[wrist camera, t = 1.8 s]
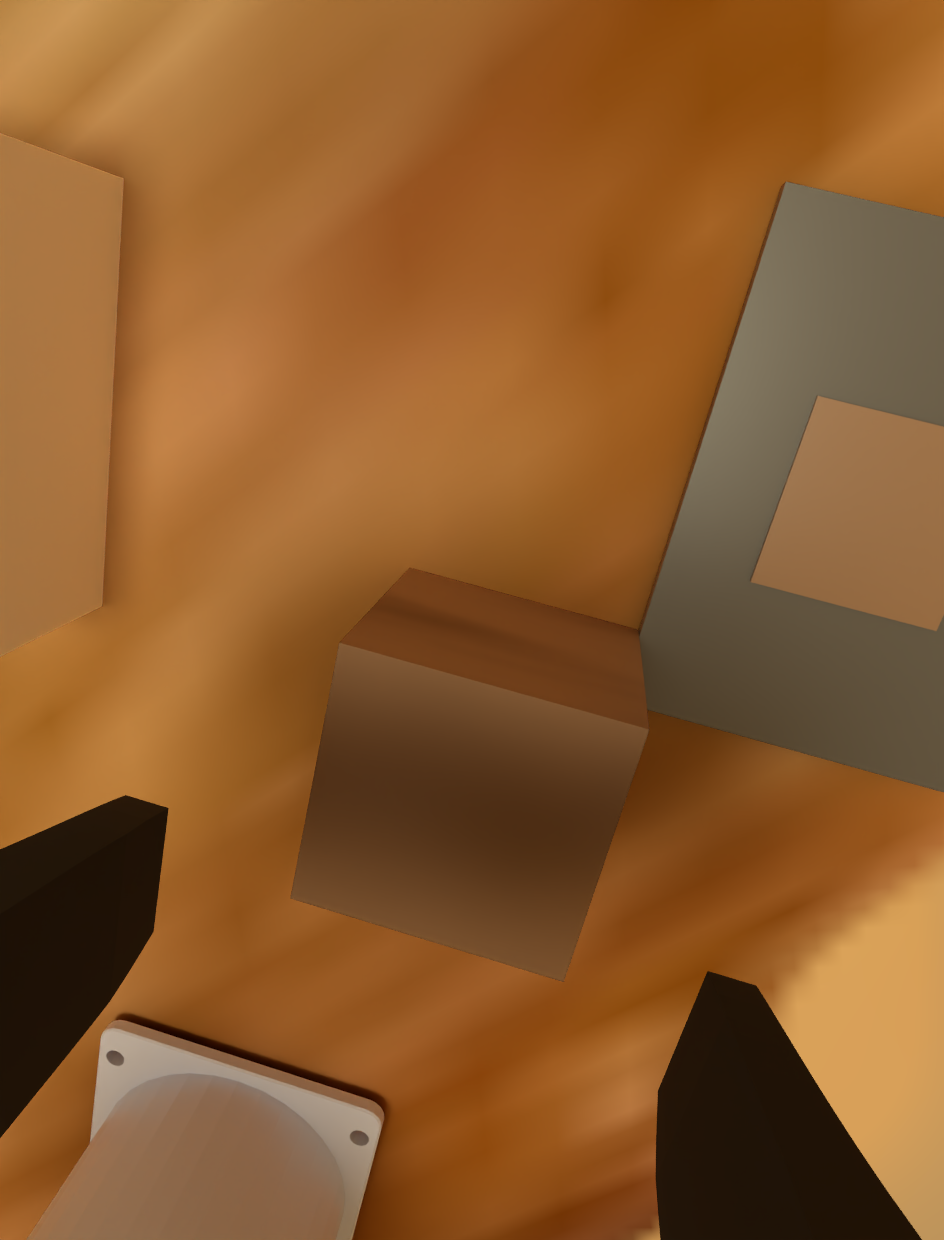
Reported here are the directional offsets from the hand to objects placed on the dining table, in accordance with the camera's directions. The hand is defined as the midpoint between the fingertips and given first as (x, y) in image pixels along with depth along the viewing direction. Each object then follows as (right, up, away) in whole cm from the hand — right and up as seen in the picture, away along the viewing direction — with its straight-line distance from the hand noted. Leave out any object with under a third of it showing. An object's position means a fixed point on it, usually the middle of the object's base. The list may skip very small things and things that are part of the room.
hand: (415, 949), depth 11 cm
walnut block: (+1, +2, +8) cm, 8 cm away
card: (+8, +6, +5) cm, 12 cm away
